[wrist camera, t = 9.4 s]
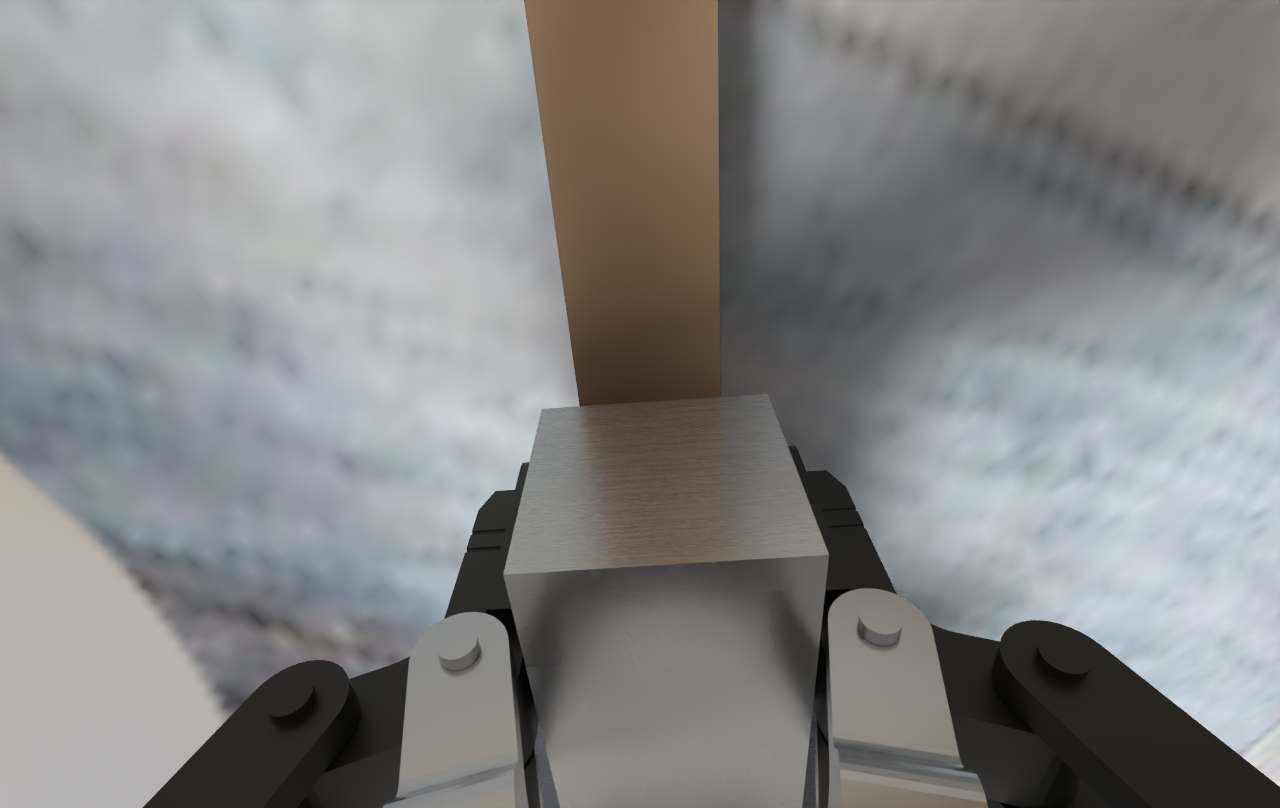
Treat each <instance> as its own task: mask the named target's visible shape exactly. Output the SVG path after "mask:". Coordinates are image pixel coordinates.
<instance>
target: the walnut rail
mask: <svg viewBox="0 0 1280 808" xmlns="http://www.w3.org/2000/svg"><path fill="white" fill-rule="evenodd" d="M524 3H525V10H526V18H527V25H528V32H529V40H530V47H531V54H532V61H533V69H534V76H535V83H536V91H537V98H538V105H539V112H540V120H541V127H542V134H543V142H544V149H545V156H546V163H547V171H548V178H549V185H550V193H551V200H552V207H553V214H554V222H555V229H556V236H557V244H558V251H559V258H560V266H561V273H562V280H563V287H564V295H565V302H566V309H567V317H568V324H569V331H570V338H571V346H572V353H573V360H574V368H575V375H576V382H577V389H578V397H579V404H580V406H595V405H610V404H625V403H640V402H654V401H669V400H684V399H699V398H714V397H721V365H720V231H719V97H718V0H524Z"/></svg>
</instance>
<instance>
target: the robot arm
mask: <svg viewBox="0 0 1280 808" xmlns="http://www.w3.org/2000/svg"><path fill="white" fill-rule="evenodd" d="M788 448H789V451H790V453H791V456H792V458H793V461H794V464H795V466H796V469H797V472H798V474H799V477H800V480H801V482H802V485H803V487H804V490H805V493H806V495H807V498H808V501H809V503H810V506H811V509H812V511H813V514H814V516H815V519H816V522H817V524H818V527H819V530H820V532H821V535H822V537H823V540H824V543H825V545H826V548H827V551H828V553H829V560H828V570H827V579H826V588H825V598H824V607H823V616H822V626H821V635H820V645H819V654H818V663H817V673H816V682H815V692H814V701H813V706H814V710H815V713H816V717H817V718H816V727H815V785H816V808H1280V787H1279V786H1278V785H1276V784H1275V783H1274V782H1273V781H1271V780H1270V779H1269V778H1268V777H1266V776H1265V775H1264V774H1263V773H1261V772H1260V771H1259V770H1258V769H1256V768H1255V767H1254V766H1252V765H1251V764H1250V763H1249V762H1247V761H1246V760H1245V759H1244V758H1242V757H1241V756H1240V755H1239V754H1237V753H1236V752H1235V751H1234V750H1232V749H1231V748H1230V747H1229V746H1227V745H1226V744H1225V743H1223V742H1222V741H1221V740H1220V739H1218V738H1217V737H1216V736H1215V735H1213V734H1212V733H1211V732H1210V731H1208V730H1207V729H1206V728H1205V727H1203V726H1202V725H1201V724H1199V723H1198V722H1197V721H1196V720H1194V719H1193V718H1192V717H1191V716H1189V715H1188V714H1187V713H1186V712H1184V711H1183V710H1182V709H1181V708H1179V707H1178V706H1177V705H1175V704H1174V703H1173V702H1172V701H1170V700H1169V699H1168V698H1167V697H1165V696H1164V695H1163V694H1162V693H1160V692H1159V691H1158V690H1157V689H1155V688H1154V687H1153V686H1152V685H1150V684H1149V683H1148V682H1146V681H1145V680H1144V679H1143V678H1141V677H1140V676H1139V675H1138V674H1136V673H1135V672H1134V671H1133V670H1131V669H1130V668H1129V667H1128V666H1126V665H1125V664H1124V663H1122V662H1121V661H1120V660H1119V659H1117V658H1116V657H1115V656H1114V655H1112V654H1111V653H1110V652H1109V651H1107V650H1106V649H1105V648H1104V647H1102V646H1101V645H1100V644H1098V643H1097V642H1096V641H1094V640H1093V639H1091V638H1090V637H1088V636H1086V635H1084V634H1083V633H1081V632H1079V631H1077V630H1074V629H1072V628H1070V627H1067V626H1064V625H1061V624H1058V623H1053V622H1048V621H1040V620H1031V621H1024V622H1020V623H1017V624H1015V625H1013V626H1011V627H1009V628H1008V629H1007V630H1006V631H1005V632H1004V634H1003V636H1002V638H1001V641H1000V642H999V641H994V640H989V639H984V638H979V637H974V636H969V635H964V634H959V633H955V632H951V631H947V630H945V629H942V628H939V627H937V626H935V625H932V624H930V623H929V621H928V619H927V618H926V616H925V615H924V614H923V613H922V611H921V610H919V609H918V608H917V607H916V606H915V605H914V604H912V603H911V602H910V601H908V600H907V599H905V598H903V597H901V596H899V595H897V593H896V592H895V590H894V588H893V586H892V583H891V581H890V579H889V577H888V575H887V573H886V571H885V569H884V566H883V564H882V562H881V560H880V558H879V556H878V554H877V552H876V550H875V547H874V545H873V543H872V541H871V539H870V537H869V535H868V533H867V531H866V528H864V526H863V522H862V520H861V518H860V516H859V514H858V512H857V511H856V507H855V505H854V503H853V501H852V499H851V497H850V495H849V492H848V490H847V488H846V487H845V486H844V485H843V484H842V483H841V482H839V481H838V480H837V479H836V478H835V477H833V476H832V475H831V474H830V473H829V472H828V471H826V470H824V471H809V472H806V470H805V467H804V465H803V462H802V460H801V457H800V455H799V452H798V450H797V448H796V446H794V445H793V446H788ZM529 463H530V462H527V463H522V465H521V468H520V472H519V476H518V480H517V484H516V488H515V490H507V491H495V492H494V494H493V495H492V496H491V497H490V498H489V499H488V500H487V501H486V503H485V504H484V505H483V506H482V507H481V508H480V509H479V511H478V514H477V517H476V520H475V524H474V527H473V530H472V535H471V536H470V539H469V543H468V546H467V553H465V555H464V558H463V562H462V565H461V568H460V571H459V574H458V577H457V581H456V584H455V587H454V590H453V593H452V596H451V600H450V603H449V606H448V609H447V612H446V615H445V618H444V619H443V620H441V621H440V622H438V623H436V624H435V625H433V626H432V627H431V628H429V629H428V630H427V631H426V632H425V633H424V634H423V635H422V636H421V637H420V638H419V640H418V641H417V642H416V644H415V646H414V647H413V650H412V652H411V655H410V657H408V658H406V659H404V660H402V661H400V662H397V663H395V664H392V665H390V666H387V667H384V668H381V669H378V670H375V671H372V672H369V673H366V674H363V675H360V676H357V677H354V678H351V679H349V678H348V676H347V674H346V672H345V671H344V669H343V668H342V667H340V666H339V665H338V664H336V663H333V662H330V661H326V660H313V661H306V662H302V663H299V664H296V665H293V666H291V667H288V668H286V669H284V670H282V671H280V672H279V673H277V674H275V675H274V676H272V677H271V678H270V679H268V680H267V681H266V682H264V683H263V684H262V685H261V686H260V687H259V688H258V689H257V690H256V691H255V692H254V693H253V694H252V695H251V696H250V697H249V698H248V699H247V700H246V701H245V702H244V703H243V704H242V705H241V706H240V707H239V708H238V709H237V710H236V711H235V712H234V713H233V714H232V715H231V716H230V717H229V719H228V720H227V721H226V722H225V723H224V724H223V725H222V726H221V727H220V728H219V729H218V730H217V731H216V732H215V733H214V734H213V735H212V736H211V737H210V738H209V739H208V740H207V741H206V742H205V744H203V746H202V747H201V748H200V749H199V750H198V751H197V752H196V753H195V754H194V755H193V756H192V757H191V758H190V759H189V760H188V761H187V762H186V763H185V764H184V765H183V767H182V768H180V770H178V772H177V773H176V774H175V775H174V776H173V777H172V778H171V779H170V780H169V781H168V782H167V783H166V784H165V785H164V786H163V787H162V788H161V789H160V790H159V791H158V792H157V793H156V795H154V797H152V799H151V800H150V801H149V802H148V803H147V804H146V805H145V806H144V807H143V808H544V806H543V797H542V788H541V779H540V770H539V761H538V752H537V747H536V743H535V742H536V737H537V730H538V722H539V719H538V715H537V711H536V707H535V702H534V698H533V694H532V690H531V686H530V682H529V678H528V674H527V670H526V666H525V662H524V658H523V653H522V649H521V645H520V641H519V637H518V633H517V629H516V625H515V621H514V617H513V613H512V609H511V604H510V600H509V596H508V592H507V588H506V584H505V580H504V576H503V573H504V569H505V565H506V561H507V556H508V552H509V548H510V544H511V539H512V535H513V531H514V527H515V522H516V518H517V514H518V509H519V505H520V501H521V497H522V492H523V488H524V484H525V480H526V475H527V471H528V467H529Z"/></svg>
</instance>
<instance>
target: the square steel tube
mask: <svg viewBox="0 0 1280 808" xmlns="http://www.w3.org/2000/svg"><path fill="white" fill-rule="evenodd" d="M828 560H829V553H828V551H827V548H826V545H825V543H824V540H823V537H822V535H821V532H820V530H819V527H818V524H817V522H816V519H815V516H814V514H813V511H812V509H811V506H810V503H809V501H808V498H807V495H806V493H805V490H804V487H803V485H802V482H801V480H800V477H799V474H798V472H797V469H796V466H795V464H794V461H793V458H792V456H791V453H790V451H789V448H788V445H787V443H786V440H785V437H784V435H783V432H782V430H781V427H780V424H779V422H778V419H777V416H776V414H775V411H774V408H773V406H772V403H771V401H770V398H769V395H768V394H759V395H744V396H729V397H714V398H699V399H684V400H669V401H654V402H640V403H625V404H610V405H595V406H580V407H565V408H550V409H542V411H541V416H540V420H539V424H538V428H537V433H536V437H535V441H534V446H533V450H532V454H531V458H530V463H529V467H528V471H527V475H526V480H525V484H524V488H523V492H522V497H521V501H520V505H519V509H518V514H517V518H516V522H515V527H514V531H513V535H512V539H511V544H510V548H509V552H508V556H507V561H506V565H505V569H504V573H503V576H504V580H505V584H506V588H507V592H508V596H509V600H510V604H511V609H512V613H513V617H514V621H515V625H516V629H517V633H518V637H519V641H520V645H521V649H522V653H523V658H524V662H525V666H526V670H527V674H528V678H529V682H530V686H531V690H532V694H533V698H534V702H535V707H536V711H537V715H538V719H539V723H540V727H541V731H542V735H543V739H544V743H545V747H546V751H547V756H548V760H549V764H550V768H551V772H552V776H553V780H554V784H555V788H556V792H557V796H558V800H559V805H560V808H802V804H803V795H804V785H805V776H806V767H807V757H808V748H809V738H810V729H811V720H812V710H813V701H814V692H815V682H816V673H817V663H818V654H819V645H820V635H821V626H822V616H823V607H824V598H825V588H826V579H827V570H828Z"/></svg>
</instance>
